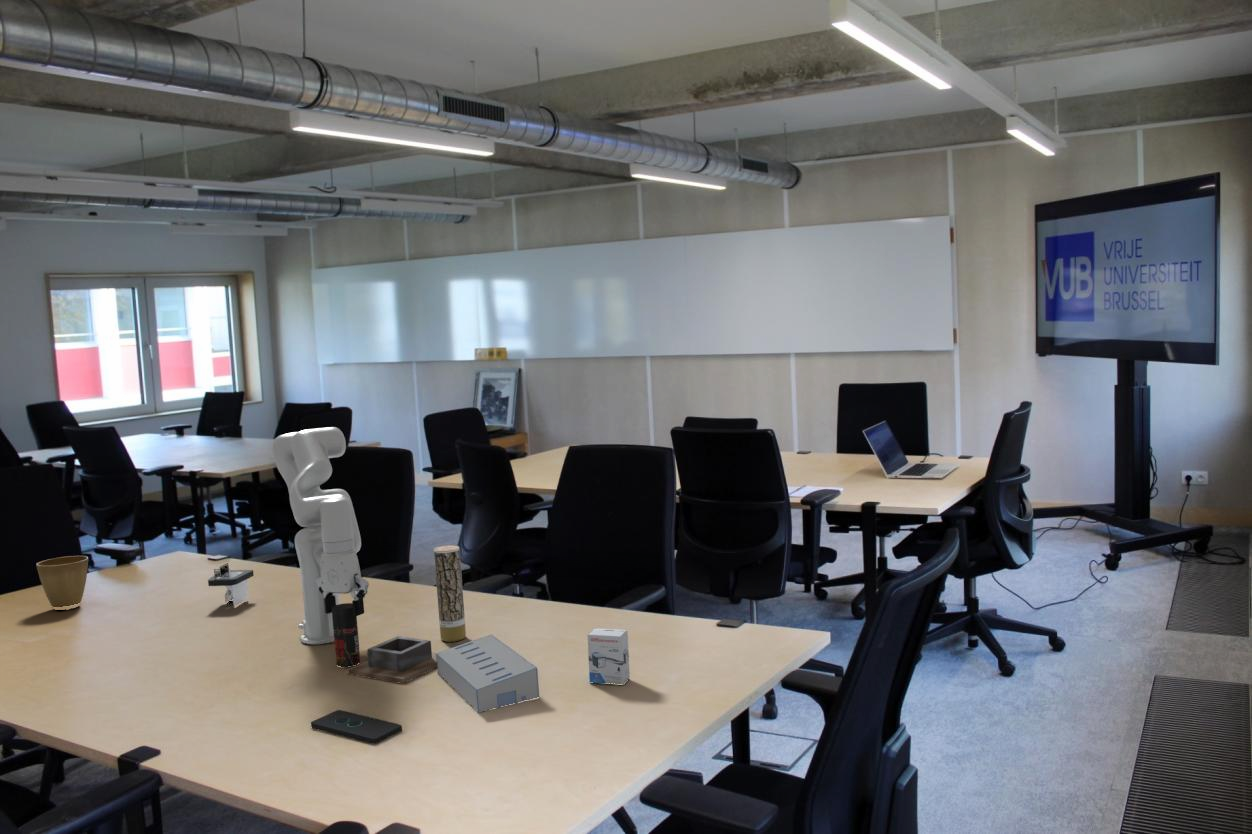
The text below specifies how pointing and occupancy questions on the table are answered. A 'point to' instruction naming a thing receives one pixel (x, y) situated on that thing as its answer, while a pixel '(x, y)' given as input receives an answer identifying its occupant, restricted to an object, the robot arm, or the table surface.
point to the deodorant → (345, 635)
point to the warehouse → (488, 673)
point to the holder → (397, 660)
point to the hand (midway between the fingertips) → (344, 613)
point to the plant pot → (63, 579)
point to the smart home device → (356, 726)
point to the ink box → (608, 656)
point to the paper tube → (450, 593)
